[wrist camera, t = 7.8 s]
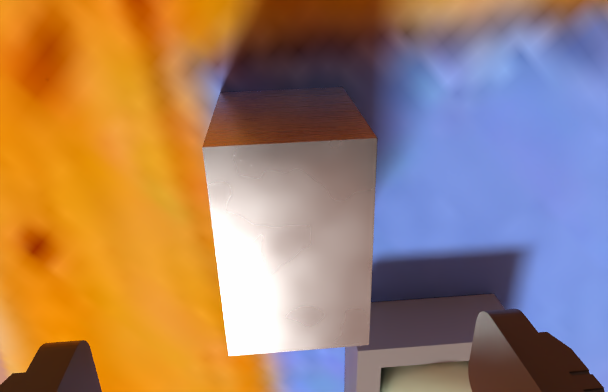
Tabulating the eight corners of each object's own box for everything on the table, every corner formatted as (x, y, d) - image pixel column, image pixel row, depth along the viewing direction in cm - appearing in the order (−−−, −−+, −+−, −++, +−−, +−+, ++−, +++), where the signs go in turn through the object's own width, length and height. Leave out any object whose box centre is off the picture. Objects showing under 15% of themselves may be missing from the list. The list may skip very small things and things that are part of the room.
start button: (466, 321, 23) (495, 373, 20) (455, 389, 25) (481, 445, 22) (374, 328, 23) (390, 381, 20) (370, 396, 24) (385, 453, 22)
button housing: (493, 293, 23) (525, 338, 20) (474, 400, 26) (499, 451, 23) (345, 304, 22) (357, 351, 19) (344, 411, 25) (354, 465, 22)
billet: (342, 86, 18) (377, 137, 13) (341, 247, 21) (369, 344, 16) (220, 92, 18) (202, 147, 12) (237, 254, 21) (228, 355, 15)
